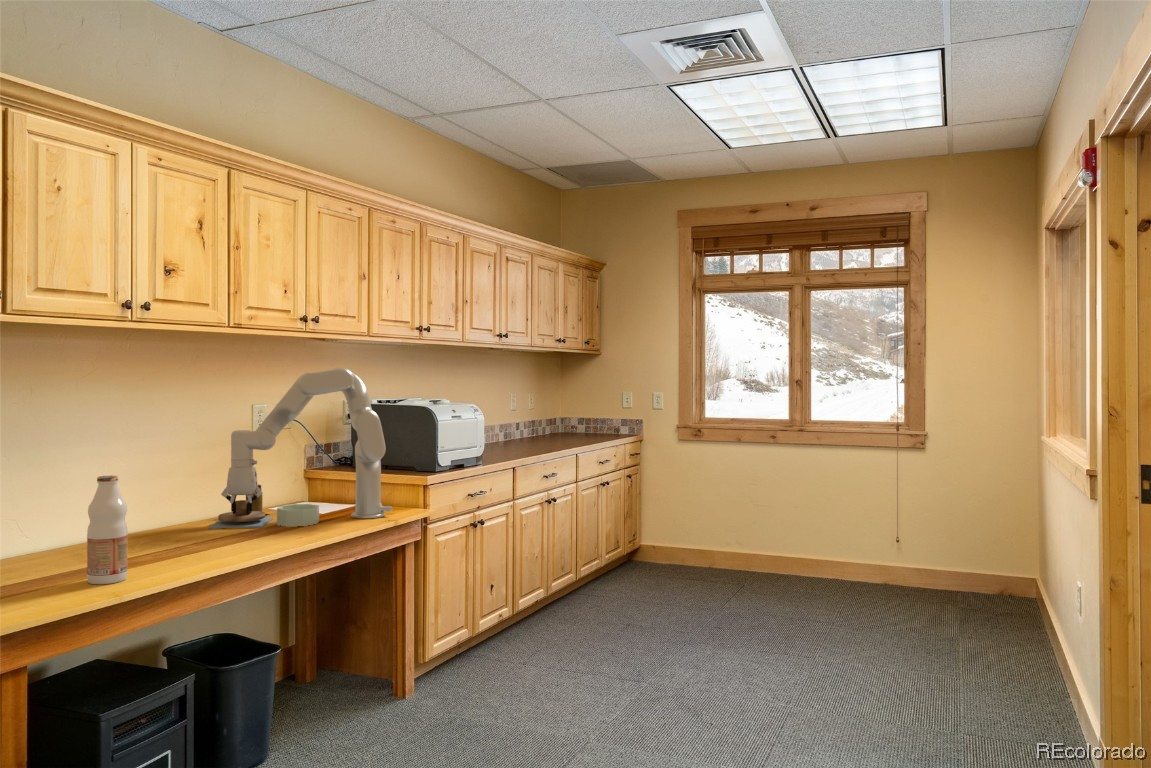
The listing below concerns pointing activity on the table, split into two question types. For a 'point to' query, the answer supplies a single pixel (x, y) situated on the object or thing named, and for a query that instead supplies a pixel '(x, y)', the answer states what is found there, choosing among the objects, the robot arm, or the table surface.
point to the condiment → (257, 502)
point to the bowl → (297, 515)
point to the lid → (241, 514)
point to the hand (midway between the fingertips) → (241, 513)
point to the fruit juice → (107, 534)
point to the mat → (241, 524)
